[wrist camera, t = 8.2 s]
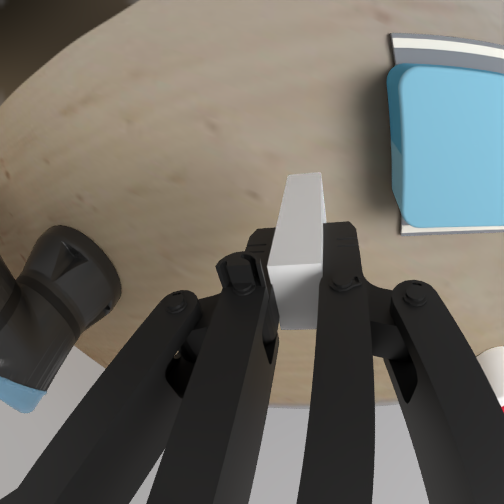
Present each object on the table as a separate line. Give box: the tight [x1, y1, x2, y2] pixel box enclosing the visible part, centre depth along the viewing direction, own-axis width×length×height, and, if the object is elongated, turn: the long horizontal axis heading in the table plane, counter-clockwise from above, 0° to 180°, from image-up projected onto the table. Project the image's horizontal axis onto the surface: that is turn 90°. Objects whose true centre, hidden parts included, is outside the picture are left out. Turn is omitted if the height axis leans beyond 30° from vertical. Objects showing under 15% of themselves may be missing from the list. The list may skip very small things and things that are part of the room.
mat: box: [390, 33, 504, 236], centre depth 19 cm, size 19×18×1 cm
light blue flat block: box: [387, 63, 504, 228], centre depth 18 cm, size 12×4×12 cm
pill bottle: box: [476, 346, 504, 412], centre depth 31 cm, size 8×8×11 cm
